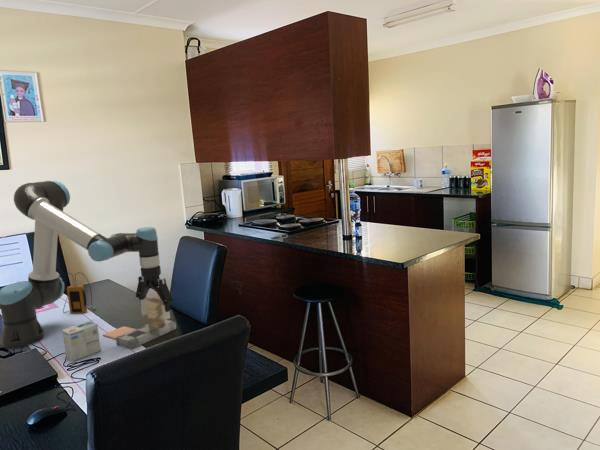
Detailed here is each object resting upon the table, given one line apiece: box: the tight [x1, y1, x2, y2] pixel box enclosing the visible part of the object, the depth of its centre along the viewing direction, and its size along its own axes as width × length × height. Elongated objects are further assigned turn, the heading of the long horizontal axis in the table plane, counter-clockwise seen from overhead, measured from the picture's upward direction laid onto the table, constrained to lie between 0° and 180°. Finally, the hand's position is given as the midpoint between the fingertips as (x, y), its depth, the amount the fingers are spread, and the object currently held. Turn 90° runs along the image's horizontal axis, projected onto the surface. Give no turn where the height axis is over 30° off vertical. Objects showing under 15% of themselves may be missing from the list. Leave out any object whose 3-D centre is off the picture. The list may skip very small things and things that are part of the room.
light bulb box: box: [61, 320, 102, 362], centre depth 169 cm, size 11×7×11 cm, turn 141°
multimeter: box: [62, 271, 97, 314], centre depth 219 cm, size 15×10×20 cm
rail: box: [115, 319, 177, 350], centre depth 182 cm, size 22×9×3 cm, turn 147°
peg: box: [146, 296, 165, 328], centre depth 186 cm, size 4×4×14 cm
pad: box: [102, 325, 136, 341], centre depth 187 cm, size 10×10×1 cm
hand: (155, 316), depth 186 cm, fingers open, 13 cm apart
